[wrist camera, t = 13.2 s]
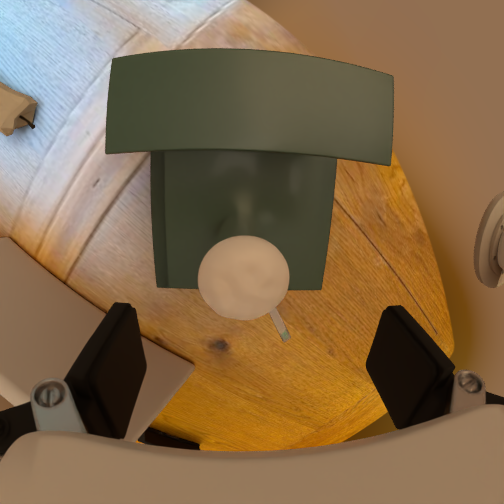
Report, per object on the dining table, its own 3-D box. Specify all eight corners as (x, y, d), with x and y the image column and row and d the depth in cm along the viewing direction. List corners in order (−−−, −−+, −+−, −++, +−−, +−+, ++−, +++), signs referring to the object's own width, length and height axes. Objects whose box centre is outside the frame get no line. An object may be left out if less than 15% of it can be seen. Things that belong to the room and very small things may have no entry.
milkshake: (243, 279, 23) (251, 364, 13) (197, 231, 21) (172, 295, 12) (287, 244, 22) (325, 313, 13) (243, 192, 20) (252, 227, 11)
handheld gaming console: (136, 448, 41) (138, 471, 32) (140, 418, 44) (141, 437, 35) (191, 456, 45) (203, 478, 36) (196, 428, 47) (209, 447, 38)
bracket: (47, 274, 40) (-90, 316, 11) (62, 228, 38) (-100, 254, 9) (166, 400, 38) (49, 532, 9) (198, 364, 35) (53, 534, 6)
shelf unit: (174, 104, 25) (111, 58, 10) (312, 110, 26) (394, 75, 11) (174, 254, 30) (128, 347, 15) (301, 256, 31) (355, 347, 16)
